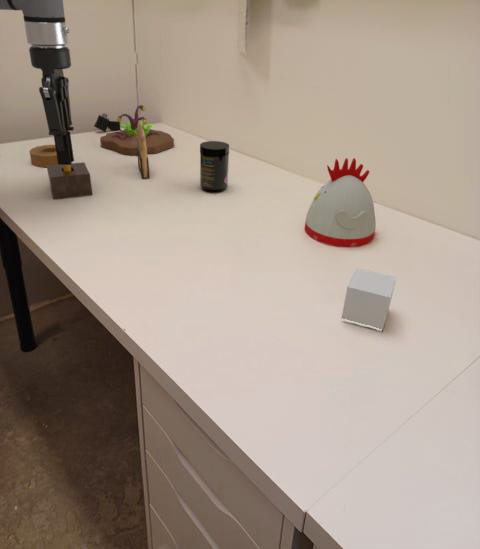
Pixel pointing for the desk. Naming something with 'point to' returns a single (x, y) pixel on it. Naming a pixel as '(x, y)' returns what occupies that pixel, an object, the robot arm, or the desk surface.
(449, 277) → the desk surface
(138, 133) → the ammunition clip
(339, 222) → the kitchen timer
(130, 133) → the plant
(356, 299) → the light grey cube
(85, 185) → the block
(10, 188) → the desk surface
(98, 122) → the lighter
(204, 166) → the supplement container
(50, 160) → the tape roll
